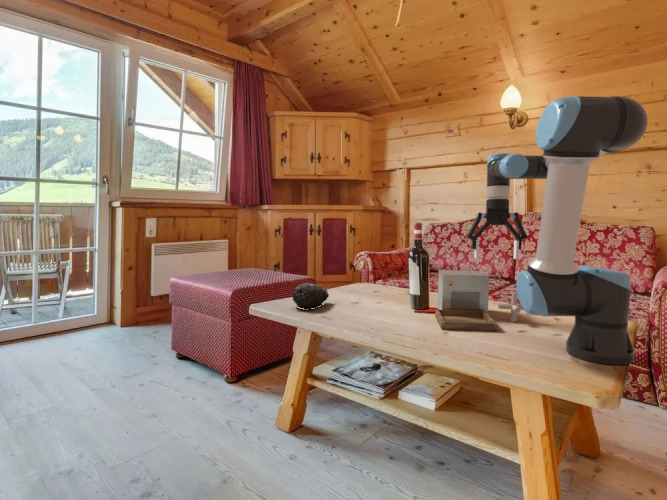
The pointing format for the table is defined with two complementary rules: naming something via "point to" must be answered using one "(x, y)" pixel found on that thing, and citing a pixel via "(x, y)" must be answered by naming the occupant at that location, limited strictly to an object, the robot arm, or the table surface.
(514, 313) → the pipe connector
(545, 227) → the robot arm
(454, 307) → the box
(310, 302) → the black oval piece
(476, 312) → the tray
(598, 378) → the table surface
